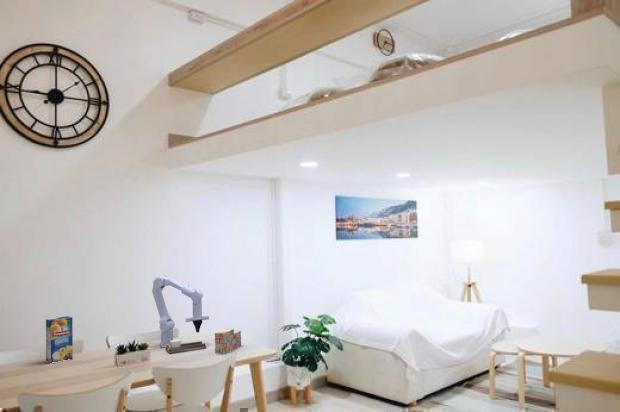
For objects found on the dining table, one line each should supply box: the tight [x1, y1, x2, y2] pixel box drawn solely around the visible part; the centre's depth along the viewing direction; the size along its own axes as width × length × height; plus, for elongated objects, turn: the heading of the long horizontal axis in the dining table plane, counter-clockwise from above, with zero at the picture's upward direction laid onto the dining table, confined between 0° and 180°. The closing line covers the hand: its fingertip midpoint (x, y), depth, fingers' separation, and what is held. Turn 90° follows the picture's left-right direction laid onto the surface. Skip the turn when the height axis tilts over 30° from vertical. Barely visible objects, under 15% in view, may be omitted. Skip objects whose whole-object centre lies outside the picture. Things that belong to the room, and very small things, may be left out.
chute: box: [164, 340, 207, 355], centre depth 297 cm, size 12×22×4 cm, turn 120°
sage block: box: [170, 339, 181, 348], centre depth 294 cm, size 5×5×5 cm
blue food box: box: [45, 315, 74, 364], centre depth 280 cm, size 12×8×24 cm, turn 138°
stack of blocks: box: [214, 328, 242, 355], centre depth 295 cm, size 21×6×12 cm, turn 161°
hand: (197, 332), depth 306 cm, fingers closed
